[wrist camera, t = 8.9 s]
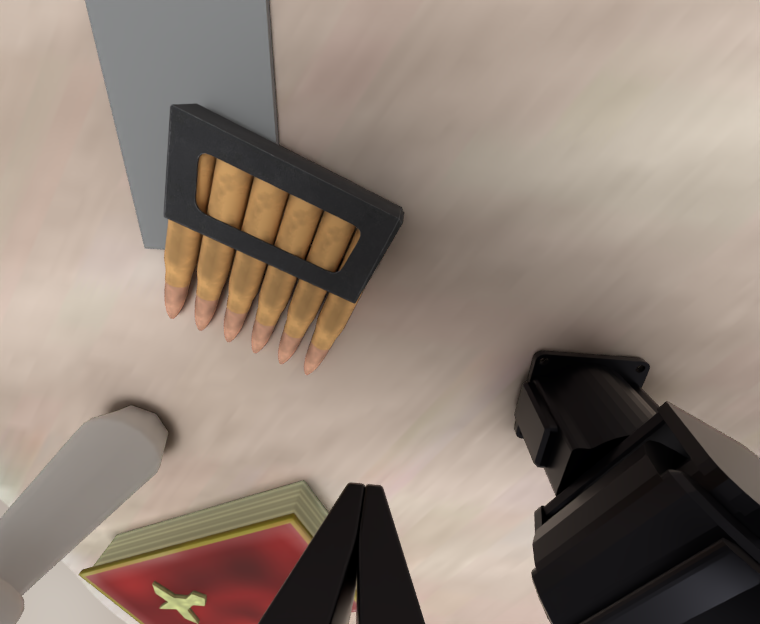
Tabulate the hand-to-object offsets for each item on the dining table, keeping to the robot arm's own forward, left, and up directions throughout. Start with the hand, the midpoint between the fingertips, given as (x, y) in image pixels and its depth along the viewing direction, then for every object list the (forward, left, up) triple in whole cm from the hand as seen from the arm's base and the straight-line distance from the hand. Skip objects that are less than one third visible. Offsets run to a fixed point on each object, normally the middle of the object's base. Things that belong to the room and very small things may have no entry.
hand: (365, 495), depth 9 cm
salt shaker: (+18, +12, -13) cm, 25 cm away
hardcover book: (+12, +26, -14) cm, 32 cm away
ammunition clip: (+4, -7, -11) cm, 14 cm away
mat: (+10, -8, -13) cm, 18 cm away
